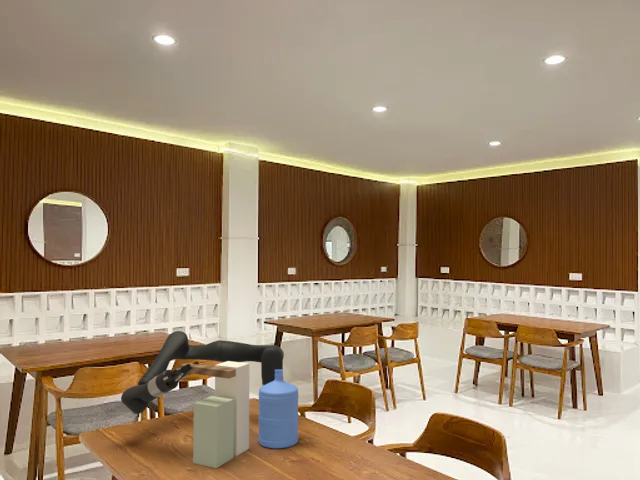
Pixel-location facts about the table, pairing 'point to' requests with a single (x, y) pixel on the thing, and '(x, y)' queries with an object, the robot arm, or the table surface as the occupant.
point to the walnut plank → (211, 370)
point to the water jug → (278, 413)
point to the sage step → (213, 431)
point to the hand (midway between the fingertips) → (194, 364)
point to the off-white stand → (237, 401)
